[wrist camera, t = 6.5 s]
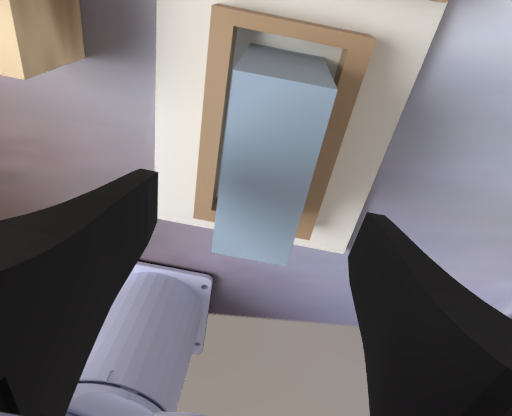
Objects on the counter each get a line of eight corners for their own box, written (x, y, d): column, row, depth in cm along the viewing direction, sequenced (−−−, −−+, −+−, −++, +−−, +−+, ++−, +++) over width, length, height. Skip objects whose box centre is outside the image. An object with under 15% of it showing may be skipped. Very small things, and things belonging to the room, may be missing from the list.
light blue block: (287, 198, 21) (286, 266, 16) (230, 187, 21) (211, 252, 16) (323, 57, 16) (337, 89, 11) (251, 43, 16) (233, 69, 11)
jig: (342, 248, 23) (346, 269, 22) (157, 212, 23) (146, 231, 21) (532, -220, 12) (574, -255, 10) (165, -301, 11) (142, -353, 10)
